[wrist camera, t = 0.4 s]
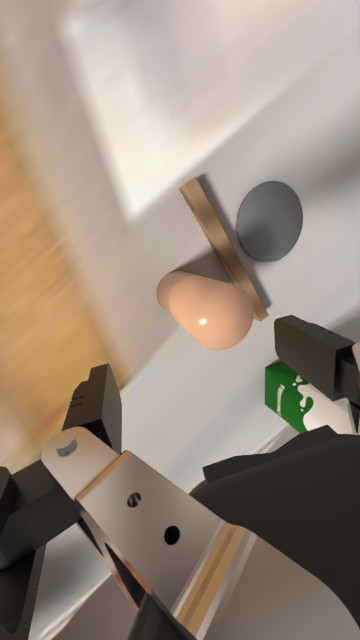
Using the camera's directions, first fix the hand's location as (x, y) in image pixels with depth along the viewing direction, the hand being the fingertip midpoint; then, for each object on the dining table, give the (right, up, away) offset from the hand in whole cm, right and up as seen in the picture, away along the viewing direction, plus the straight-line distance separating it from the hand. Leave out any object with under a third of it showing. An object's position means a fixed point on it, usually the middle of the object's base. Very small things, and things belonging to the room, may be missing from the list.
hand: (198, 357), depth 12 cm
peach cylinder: (-1, +5, +20) cm, 21 cm away
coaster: (+11, +15, +22) cm, 29 cm away
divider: (+5, +10, +21) cm, 24 cm away
